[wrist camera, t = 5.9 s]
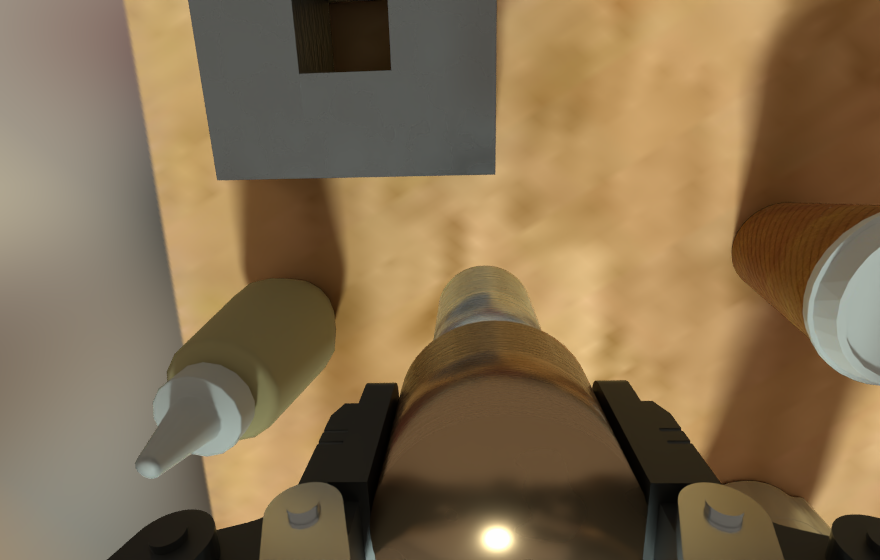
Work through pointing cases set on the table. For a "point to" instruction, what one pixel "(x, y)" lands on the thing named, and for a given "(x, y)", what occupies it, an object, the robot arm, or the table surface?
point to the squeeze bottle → (240, 371)
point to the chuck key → (502, 444)
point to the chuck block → (347, 91)
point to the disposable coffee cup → (820, 277)
